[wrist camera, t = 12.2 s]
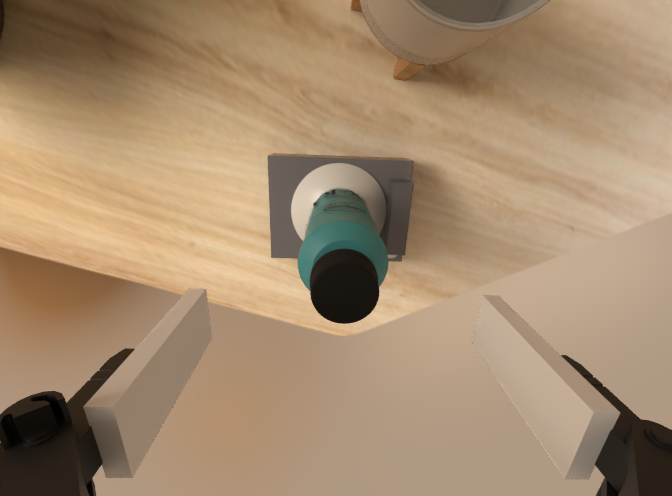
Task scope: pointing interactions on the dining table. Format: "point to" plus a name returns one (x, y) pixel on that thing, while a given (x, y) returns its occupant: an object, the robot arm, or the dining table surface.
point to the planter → (438, 27)
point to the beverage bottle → (342, 257)
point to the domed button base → (337, 171)
